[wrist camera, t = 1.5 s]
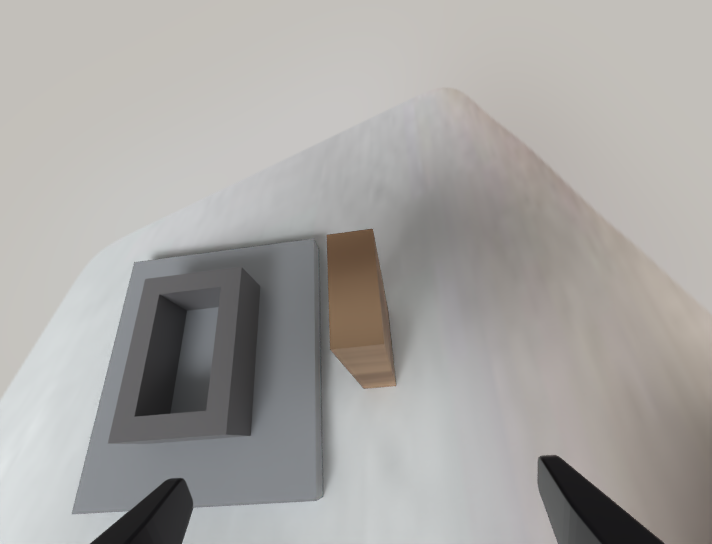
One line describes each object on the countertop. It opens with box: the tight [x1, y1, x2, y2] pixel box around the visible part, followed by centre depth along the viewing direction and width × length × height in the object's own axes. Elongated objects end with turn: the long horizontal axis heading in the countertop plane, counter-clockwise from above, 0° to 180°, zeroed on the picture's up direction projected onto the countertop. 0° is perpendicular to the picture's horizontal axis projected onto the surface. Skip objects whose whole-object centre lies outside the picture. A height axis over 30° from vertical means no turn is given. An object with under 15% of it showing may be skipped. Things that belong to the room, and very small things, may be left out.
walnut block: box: [327, 229, 396, 389], centre depth 19 cm, size 5×2×10 cm, turn 3°
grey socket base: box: [72, 239, 323, 514], centre depth 22 cm, size 16×14×4 cm
